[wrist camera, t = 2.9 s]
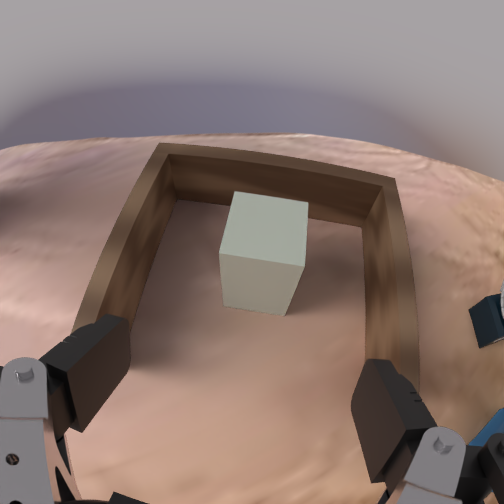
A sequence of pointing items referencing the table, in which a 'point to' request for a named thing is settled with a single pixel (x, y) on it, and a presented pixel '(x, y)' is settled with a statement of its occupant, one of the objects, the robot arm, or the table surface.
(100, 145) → the table surface
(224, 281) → the sage block
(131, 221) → the walnut u-shaped frame
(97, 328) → the robot arm
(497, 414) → the perfume bottle
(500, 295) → the watch
